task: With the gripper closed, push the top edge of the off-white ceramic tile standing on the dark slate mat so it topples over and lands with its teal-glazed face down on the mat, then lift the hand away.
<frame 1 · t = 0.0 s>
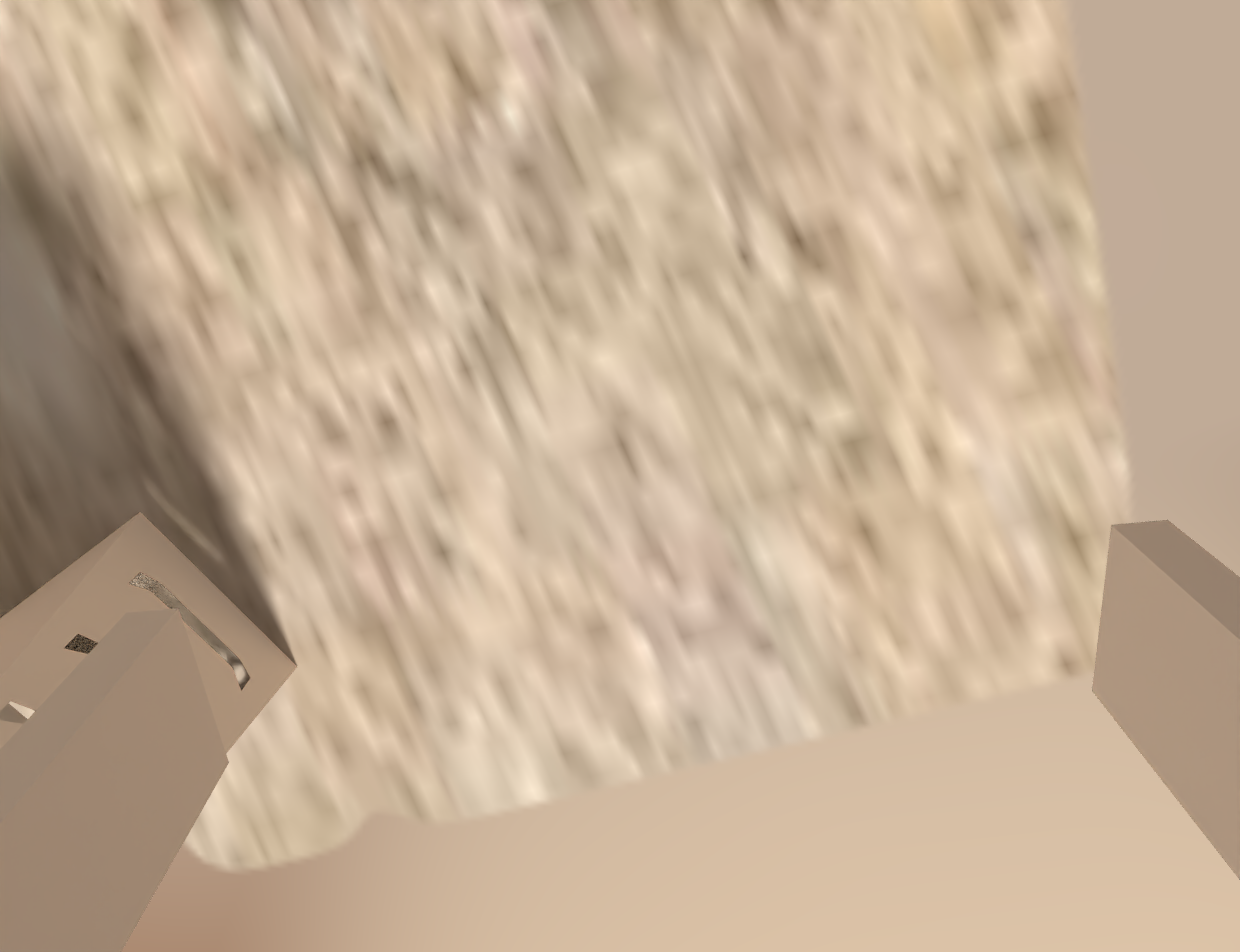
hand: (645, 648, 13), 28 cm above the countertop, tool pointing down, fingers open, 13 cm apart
grater: (147, 644, 46), on the countertop
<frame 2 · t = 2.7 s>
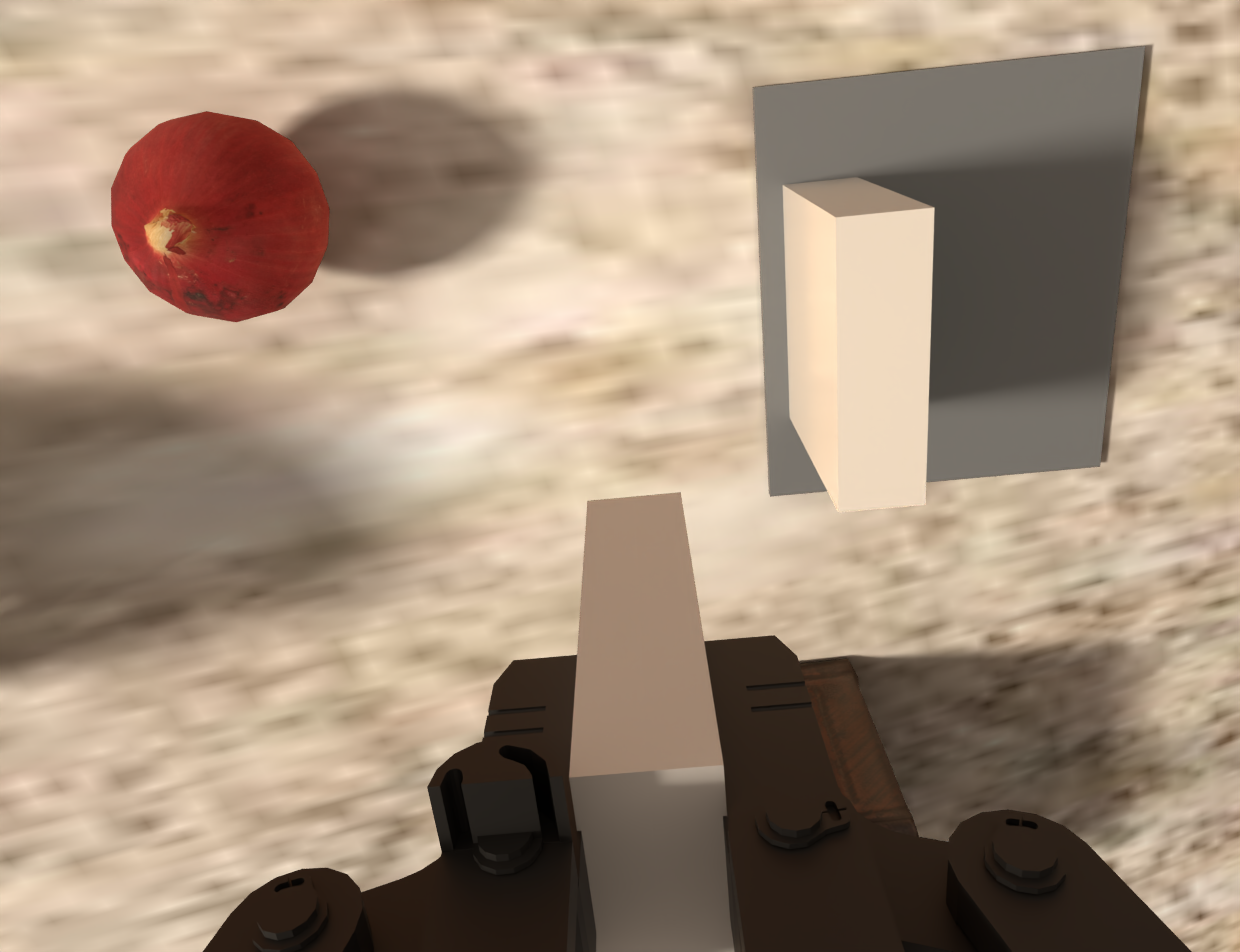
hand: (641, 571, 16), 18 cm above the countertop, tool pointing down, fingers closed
manual coffee grinder: (686, 774, 40), on the countertop
onion: (270, 203, 31), on the countertop
mat: (937, 290, 32), on the countertop
tile: (821, 303, 32), resting on mat
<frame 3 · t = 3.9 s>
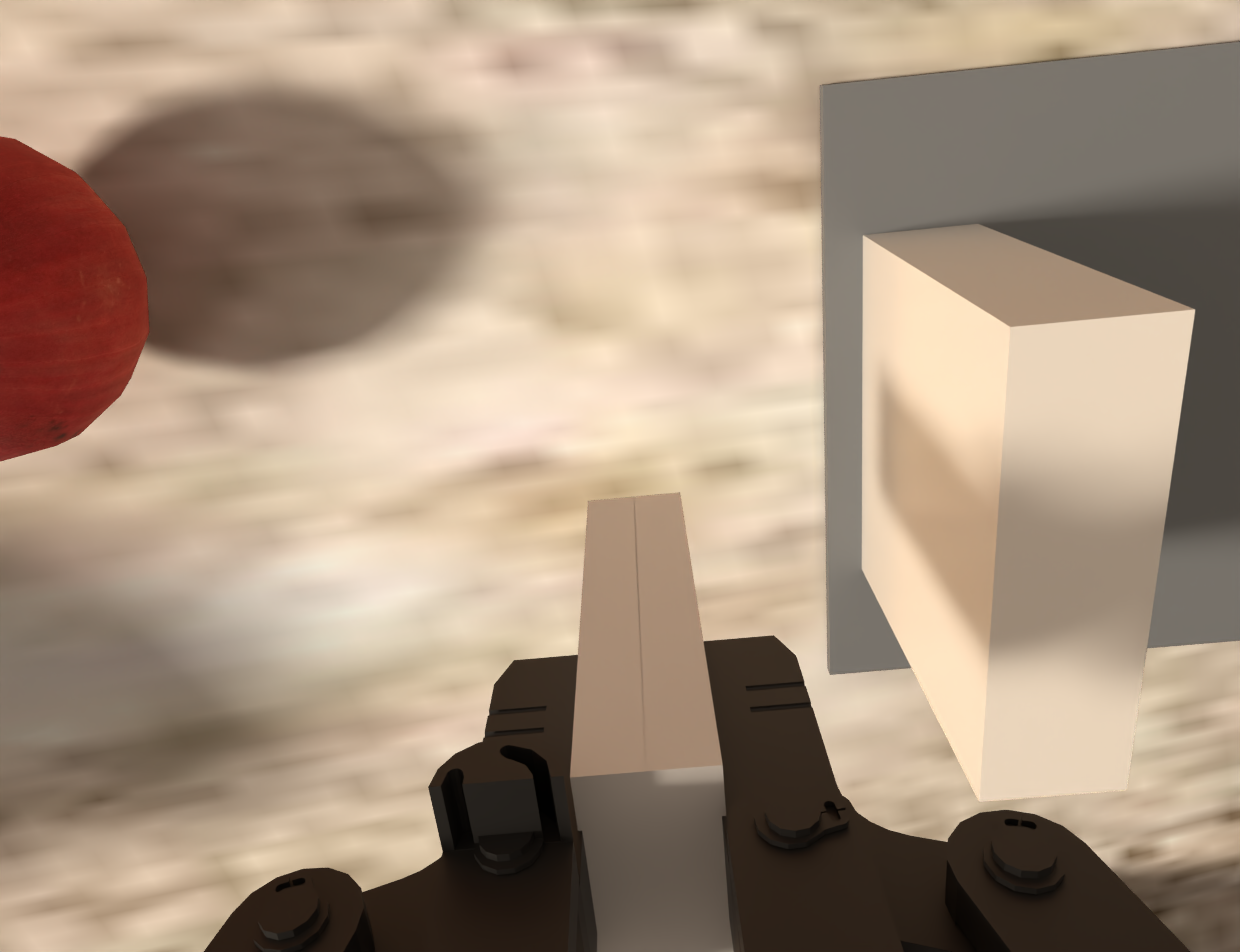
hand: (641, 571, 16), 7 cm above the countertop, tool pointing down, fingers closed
onion: (81, 261, 20), on the countertop
mat: (1087, 388, 21), on the countertop
tile: (915, 409, 21), resting on mat
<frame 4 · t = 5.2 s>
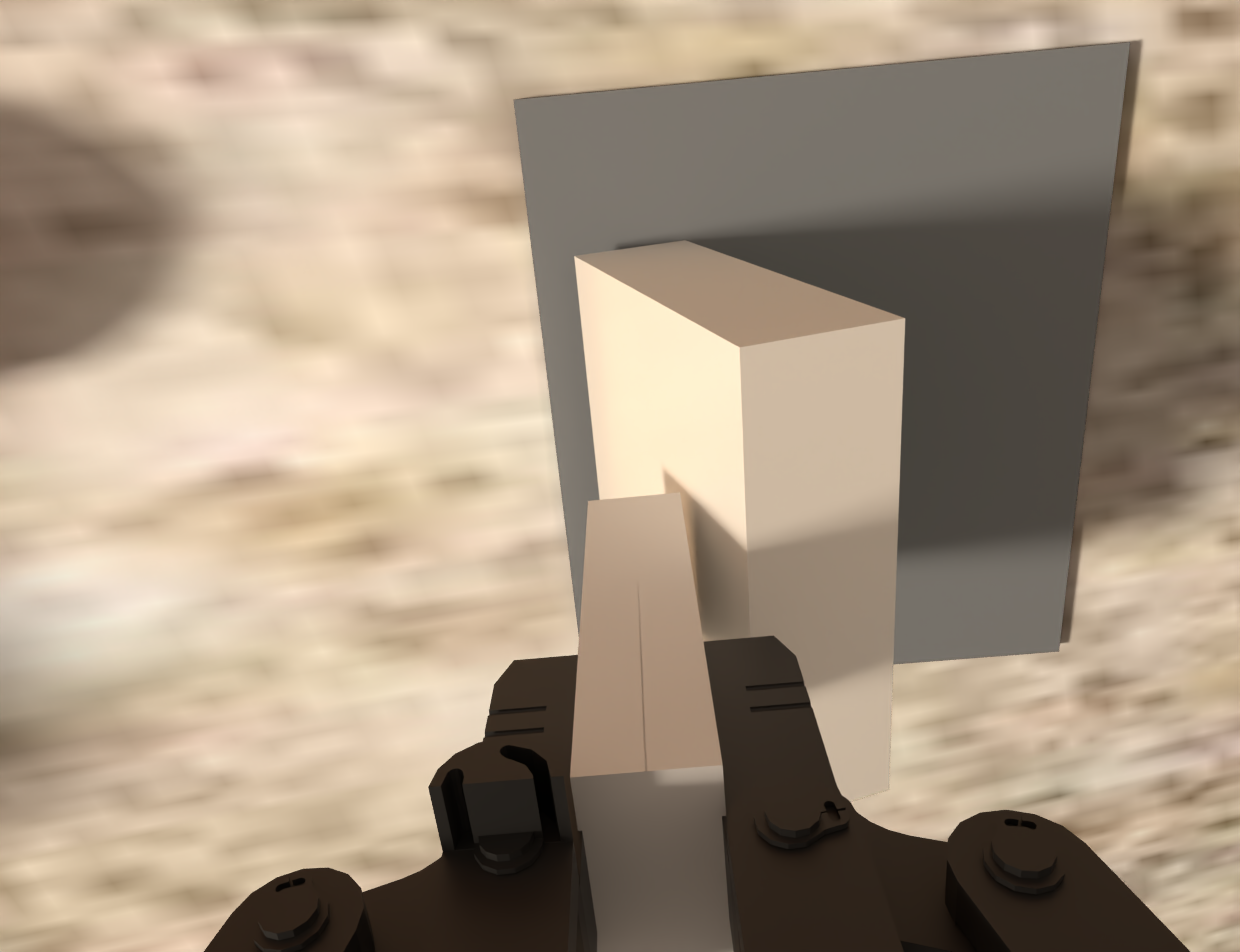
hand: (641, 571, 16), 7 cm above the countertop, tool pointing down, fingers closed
mat: (817, 405, 21), on the countertop
tile: (645, 430, 21), point 1 cm above the countertop, tilted 17°, touching mat
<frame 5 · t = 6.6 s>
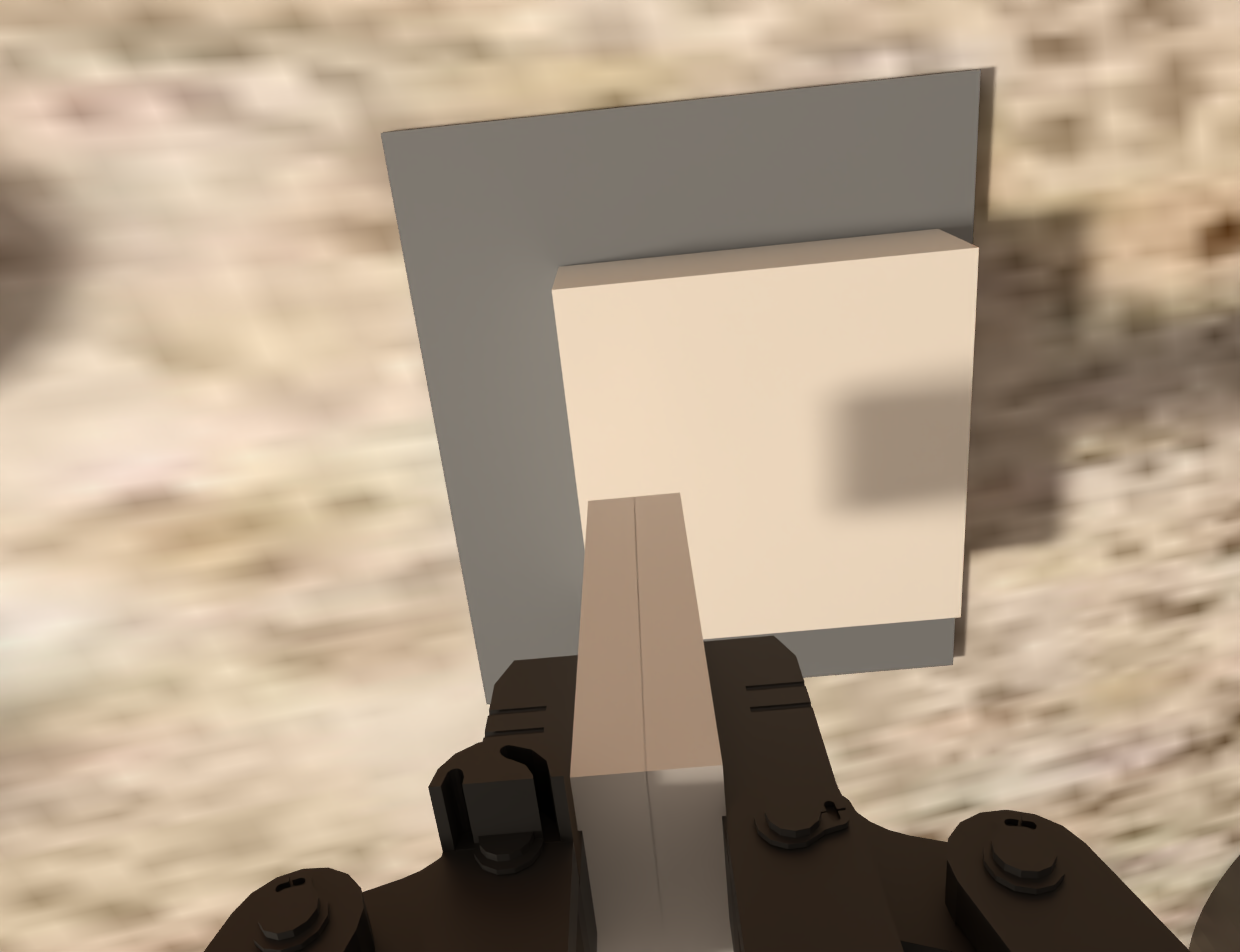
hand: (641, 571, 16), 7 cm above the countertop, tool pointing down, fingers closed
mat: (699, 425, 22), on the countertop
tile: (578, 461, 20), point 2 cm above the countertop, tilted 90°, touching mat
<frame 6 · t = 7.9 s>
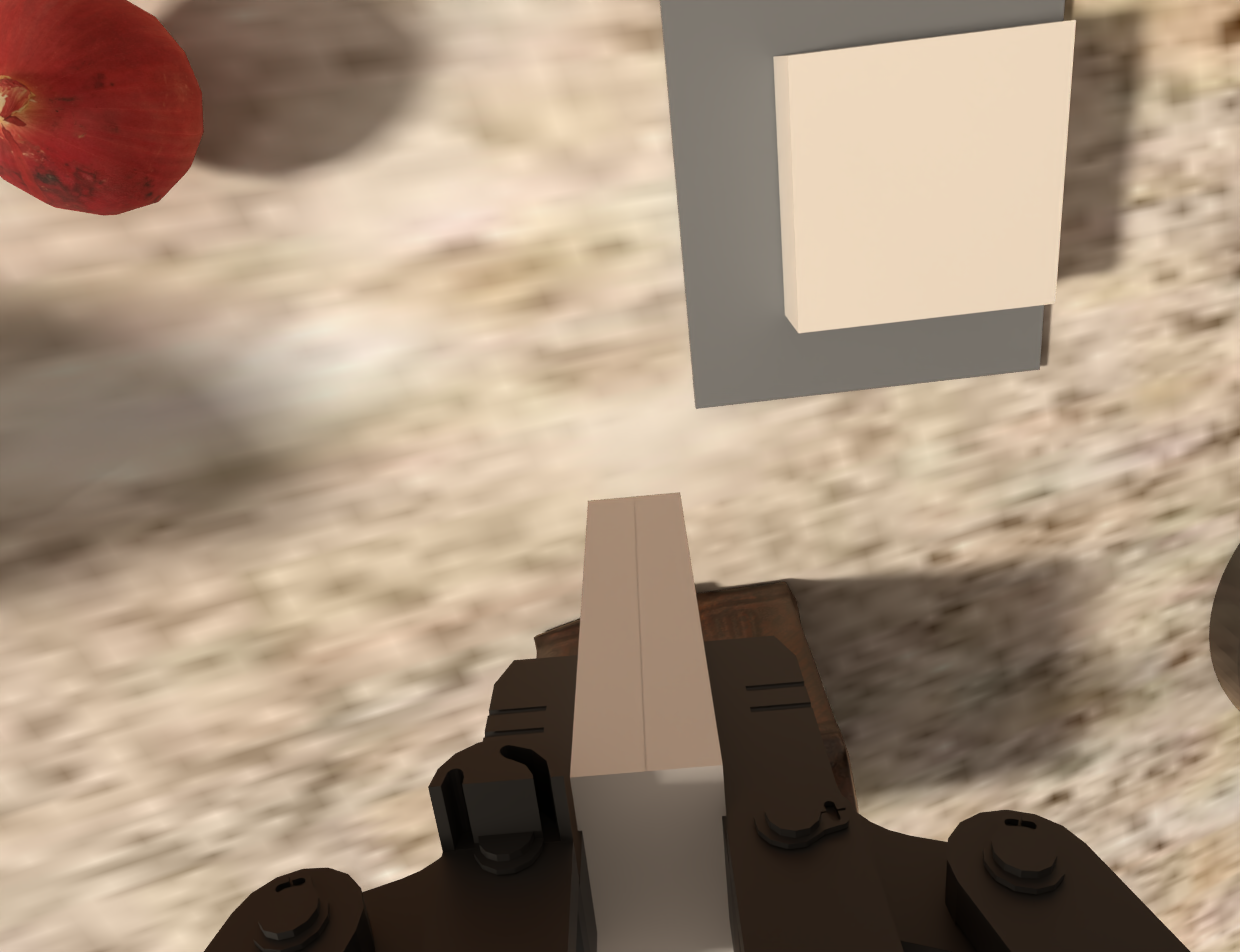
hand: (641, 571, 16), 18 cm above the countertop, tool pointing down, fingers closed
manual coffee grinder: (624, 709, 39), on the countertop
onion: (149, 98, 29), on the countertop
mat: (862, 180, 30), on the countertop
tile: (786, 197, 29), point 2 cm above the countertop, tilted 90°, touching mat
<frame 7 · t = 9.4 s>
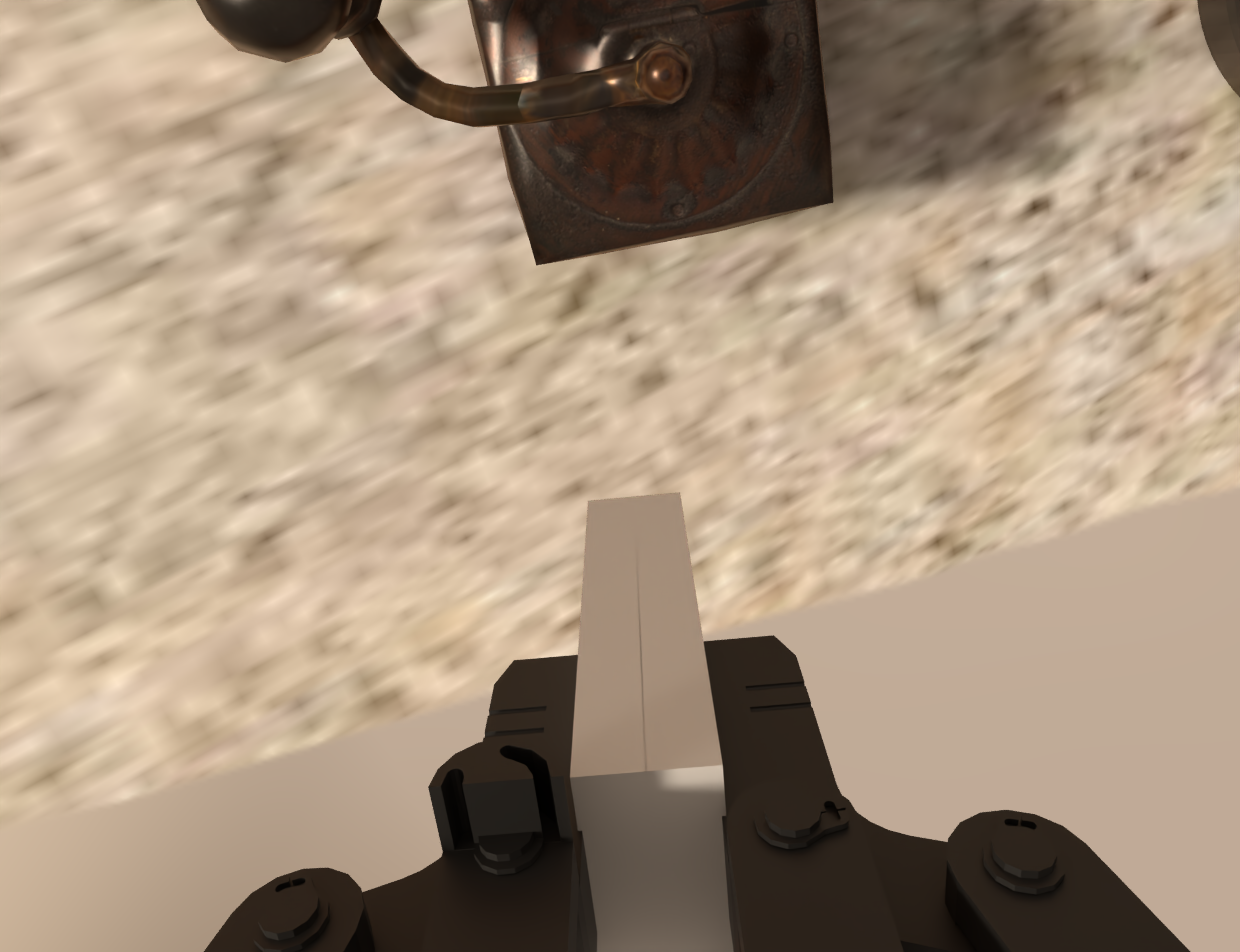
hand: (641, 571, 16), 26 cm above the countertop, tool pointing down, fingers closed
manual coffee grinder: (582, 77, 37), on the countertop
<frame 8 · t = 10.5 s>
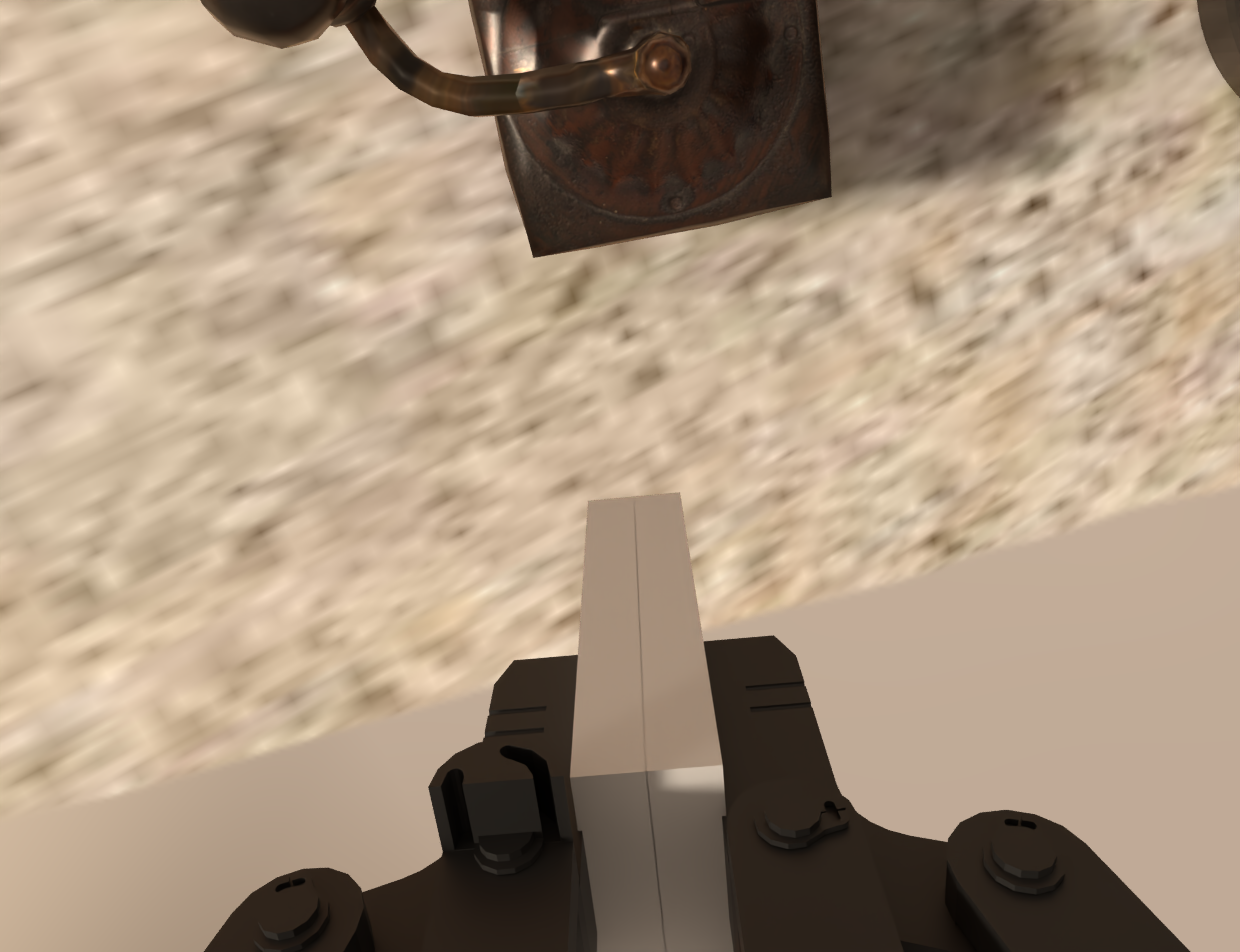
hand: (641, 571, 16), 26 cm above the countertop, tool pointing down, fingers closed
manual coffee grinder: (581, 70, 37), on the countertop
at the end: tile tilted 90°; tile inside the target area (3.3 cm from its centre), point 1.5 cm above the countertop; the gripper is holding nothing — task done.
